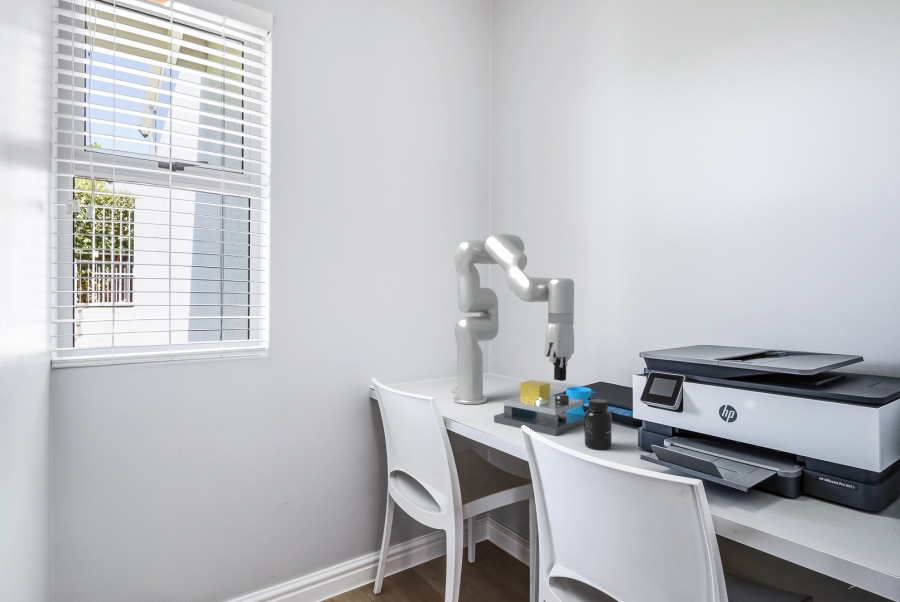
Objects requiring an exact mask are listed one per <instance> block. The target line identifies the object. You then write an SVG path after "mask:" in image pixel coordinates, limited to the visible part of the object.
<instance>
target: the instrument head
mask: <svg viewBox="0 0 900 602" xmlns="http://www.w3.org/2000/svg"><path fill="white" fill-rule="evenodd" d="M519 385H520V386H519V387H520V393H519V394H520V395H518V396H514V397H510V398H507V399H504V406H505V405H506V406H511V407H516V408H521V409H526V410H531V411H537V412H542V413H547V414H552V415H557V414H560V413H563V412H566V411H568V410H571V409H574V408H577V407H580V406H582V405H583V400H578V399H571V398H569V395H566V393H562V394H561V393H557V394H555V395H553V394H552V395H551V383H550V382H545V381H538V380H528V381H523V382H520V384H519Z"/></svg>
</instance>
